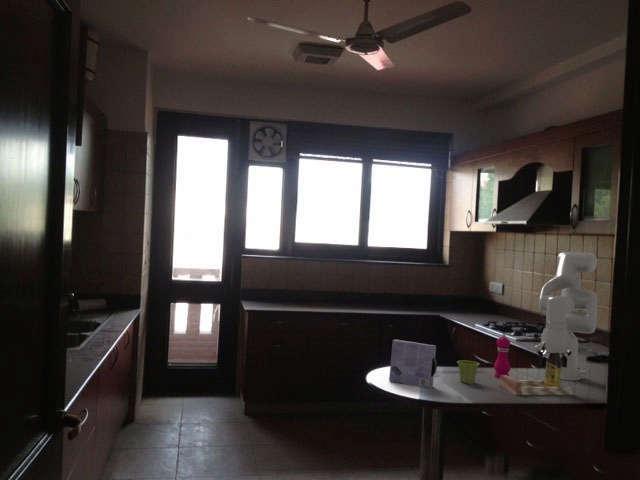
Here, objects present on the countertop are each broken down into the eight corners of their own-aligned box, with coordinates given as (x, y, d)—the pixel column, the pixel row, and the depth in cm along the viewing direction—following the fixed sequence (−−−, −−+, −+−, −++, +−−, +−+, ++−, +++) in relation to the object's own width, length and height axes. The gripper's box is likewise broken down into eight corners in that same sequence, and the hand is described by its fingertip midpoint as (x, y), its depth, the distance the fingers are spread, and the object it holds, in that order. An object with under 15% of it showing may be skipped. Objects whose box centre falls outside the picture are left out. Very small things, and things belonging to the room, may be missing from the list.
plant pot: (452, 379, 247) (453, 360, 248) (471, 379, 250) (472, 360, 250) (462, 385, 238) (463, 364, 238) (482, 385, 240) (483, 364, 241)
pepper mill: (497, 374, 263) (499, 332, 263) (512, 377, 258) (514, 334, 259) (491, 376, 257) (493, 333, 258) (506, 379, 253) (508, 335, 253)
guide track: (554, 387, 243) (554, 375, 243) (572, 394, 231) (572, 382, 231) (499, 386, 238) (500, 375, 238) (514, 394, 226) (515, 382, 226)
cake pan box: (436, 386, 233) (438, 344, 233) (433, 389, 228) (435, 346, 229) (392, 379, 241) (394, 338, 242) (388, 381, 237) (390, 340, 237)
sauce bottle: (540, 389, 238) (543, 342, 239) (552, 388, 240) (554, 342, 241) (552, 393, 232) (554, 345, 232) (563, 392, 234) (566, 345, 235)
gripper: (568, 325, 242) (566, 365, 241) (531, 324, 239) (529, 364, 238) (579, 328, 235) (577, 369, 234) (542, 326, 231) (540, 368, 231)
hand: (553, 366), depth 236 cm, fingers open, 9 cm apart
